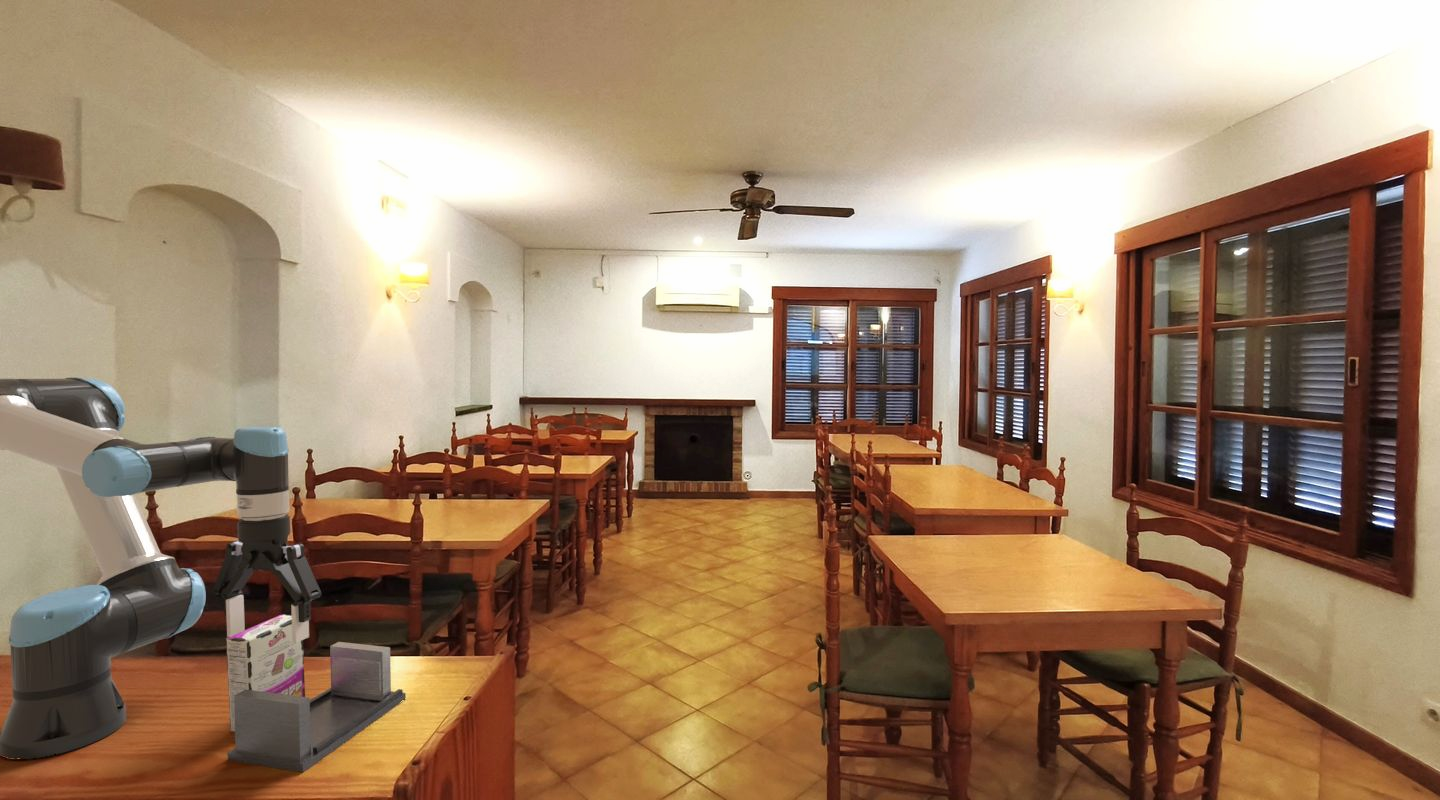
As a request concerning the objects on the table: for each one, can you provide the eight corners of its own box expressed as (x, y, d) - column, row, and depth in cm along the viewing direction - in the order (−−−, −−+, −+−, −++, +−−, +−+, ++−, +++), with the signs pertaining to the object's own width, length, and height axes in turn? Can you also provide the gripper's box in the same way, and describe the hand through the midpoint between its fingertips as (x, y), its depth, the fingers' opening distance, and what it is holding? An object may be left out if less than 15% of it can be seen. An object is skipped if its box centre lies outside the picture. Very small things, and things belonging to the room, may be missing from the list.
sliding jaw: (330, 694, 121) (329, 646, 121) (362, 675, 129) (361, 630, 129) (382, 701, 119) (381, 652, 119) (411, 681, 127) (411, 635, 126)
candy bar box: (283, 700, 122) (281, 613, 122) (306, 703, 121) (304, 615, 121) (226, 733, 111) (224, 637, 111) (251, 736, 110) (249, 639, 110)
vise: (227, 760, 104) (225, 696, 103) (341, 691, 126) (340, 638, 126) (303, 772, 101) (301, 706, 100) (405, 699, 123) (404, 645, 123)
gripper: (184, 517, 114) (189, 639, 115) (306, 523, 108) (311, 651, 109) (225, 509, 121) (229, 623, 122) (342, 514, 116) (345, 633, 117)
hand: (268, 637), depth 116 cm, fingers open, 13 cm apart
